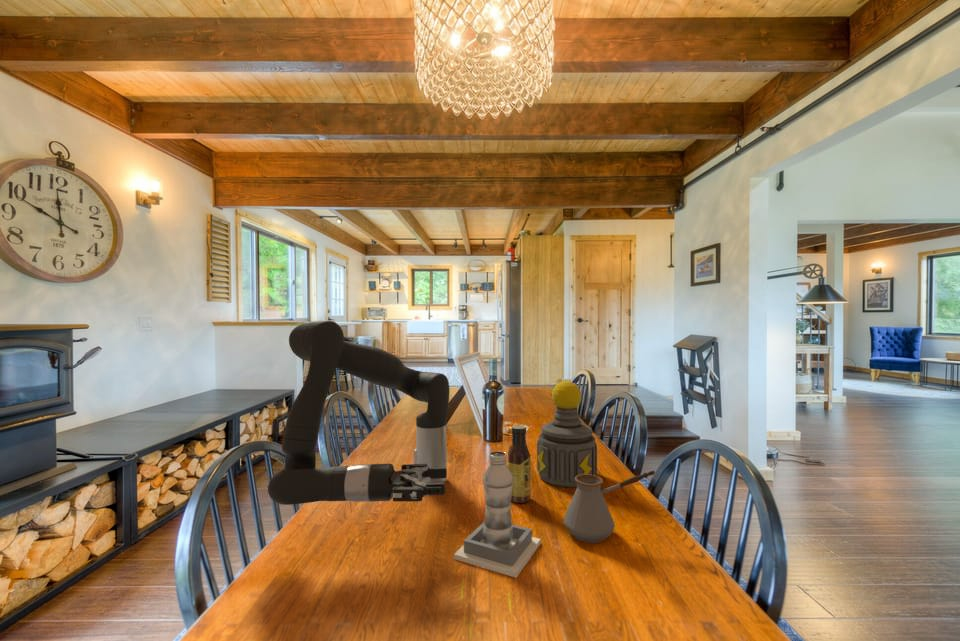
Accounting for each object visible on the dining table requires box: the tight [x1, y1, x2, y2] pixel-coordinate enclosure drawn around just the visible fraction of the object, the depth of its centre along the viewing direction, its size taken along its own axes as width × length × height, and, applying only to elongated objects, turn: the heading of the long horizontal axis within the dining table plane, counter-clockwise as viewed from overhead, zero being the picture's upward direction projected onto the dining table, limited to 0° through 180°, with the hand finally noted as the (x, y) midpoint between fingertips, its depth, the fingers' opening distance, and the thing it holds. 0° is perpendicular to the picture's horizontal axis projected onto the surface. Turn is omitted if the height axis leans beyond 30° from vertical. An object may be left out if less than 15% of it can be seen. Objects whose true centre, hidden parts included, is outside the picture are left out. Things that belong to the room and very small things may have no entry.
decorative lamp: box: [536, 380, 598, 488], centre depth 134 cm, size 19×19×30 cm
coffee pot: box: [563, 470, 659, 544], centre depth 98 cm, size 21×12×15 cm, turn 87°
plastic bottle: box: [482, 450, 513, 549], centre depth 92 cm, size 6×7×20 cm
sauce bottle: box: [507, 425, 531, 504], centre depth 118 cm, size 7×6×20 cm
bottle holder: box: [453, 520, 542, 579], centre depth 92 cm, size 14×14×4 cm
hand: (445, 480), depth 92 cm, fingers open, 8 cm apart
